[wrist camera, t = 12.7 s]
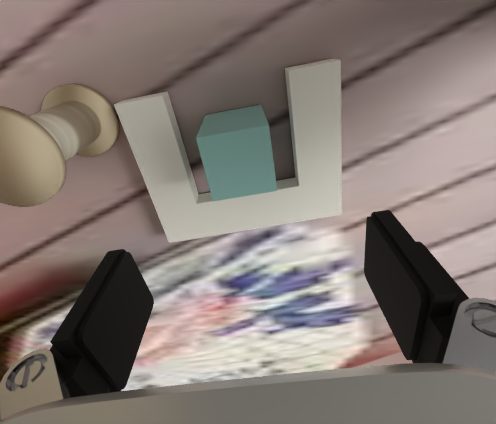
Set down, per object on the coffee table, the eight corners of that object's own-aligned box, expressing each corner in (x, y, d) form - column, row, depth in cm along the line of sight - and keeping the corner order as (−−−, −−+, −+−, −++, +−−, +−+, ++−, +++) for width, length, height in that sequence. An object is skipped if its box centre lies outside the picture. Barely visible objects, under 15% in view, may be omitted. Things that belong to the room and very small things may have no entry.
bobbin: (101, 77, 24) (23, 98, 15) (129, 147, 27) (77, 198, 18) (32, 91, 24) (-82, 119, 15) (68, 158, 27) (-11, 213, 18)
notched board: (333, 58, 23) (341, 59, 22) (336, 204, 31) (341, 214, 29) (122, 100, 24) (113, 104, 23) (172, 232, 32) (169, 243, 30)
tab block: (261, 104, 25) (268, 125, 19) (268, 158, 28) (277, 190, 22) (205, 114, 25) (195, 138, 19) (218, 166, 28) (212, 201, 22)
